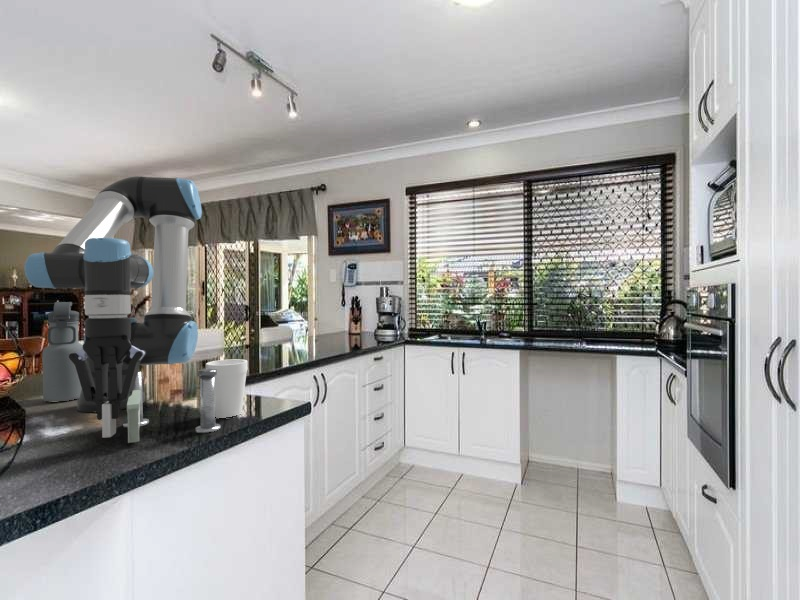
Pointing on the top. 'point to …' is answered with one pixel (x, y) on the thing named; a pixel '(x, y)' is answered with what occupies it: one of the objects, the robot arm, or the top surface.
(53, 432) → the top surface
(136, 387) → the hinge post
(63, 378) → the water bottle
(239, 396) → the foam cup
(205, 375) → the post
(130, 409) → the gate
